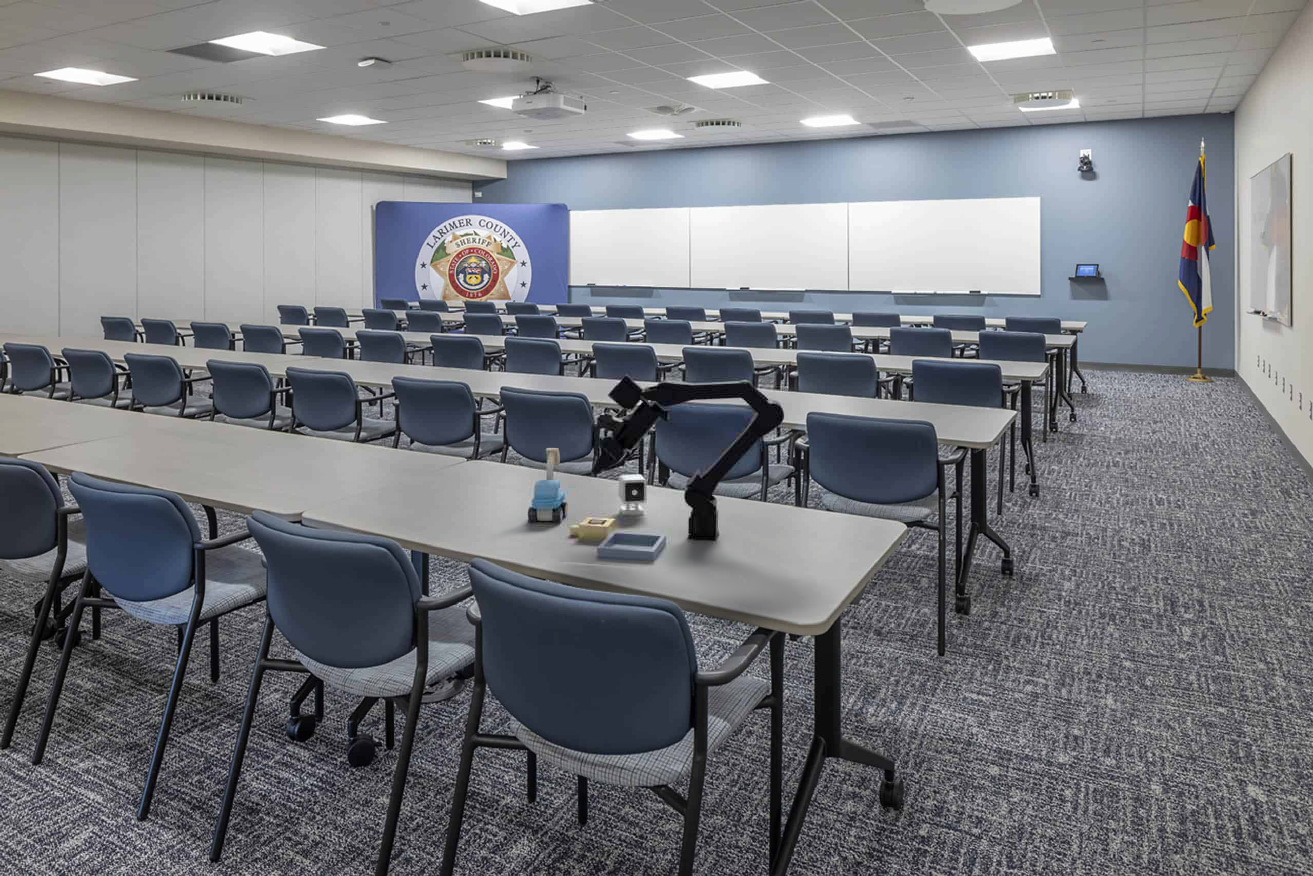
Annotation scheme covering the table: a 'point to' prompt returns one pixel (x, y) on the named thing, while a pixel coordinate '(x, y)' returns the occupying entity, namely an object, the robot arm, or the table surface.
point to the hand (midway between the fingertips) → (598, 471)
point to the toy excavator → (548, 494)
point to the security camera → (632, 493)
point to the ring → (593, 529)
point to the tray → (631, 546)
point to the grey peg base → (592, 523)
